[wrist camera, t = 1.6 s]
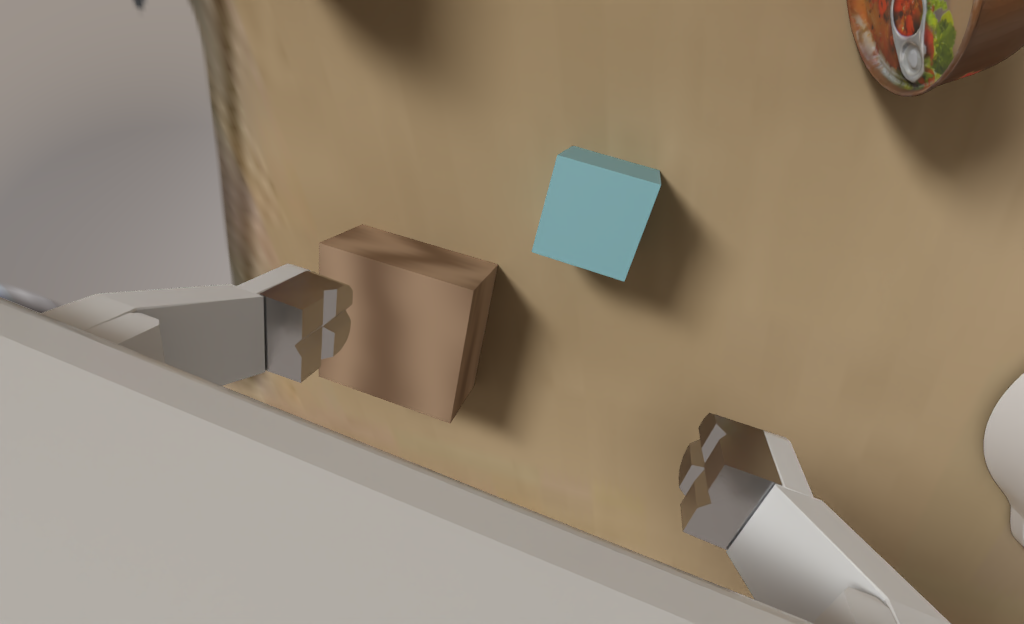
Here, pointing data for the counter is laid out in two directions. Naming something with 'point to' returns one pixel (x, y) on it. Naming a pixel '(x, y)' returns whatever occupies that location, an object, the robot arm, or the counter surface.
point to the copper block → (408, 319)
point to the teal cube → (596, 211)
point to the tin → (933, 39)
